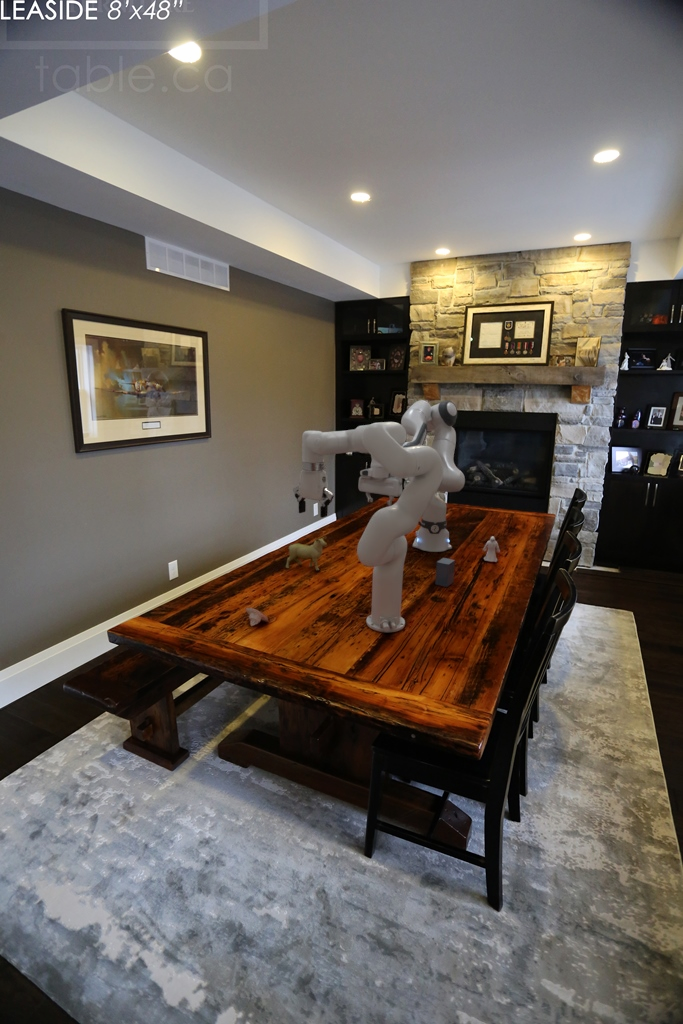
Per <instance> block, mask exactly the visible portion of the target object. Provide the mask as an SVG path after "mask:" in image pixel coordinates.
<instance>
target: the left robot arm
mask: <svg viewBox="0 0 683 1024" xmlns="http://www.w3.org/2000/svg"><path fill="white" fill-rule="evenodd" d="M407 435H408V434H407V433H406V430H405V428H404V427H403V426H402V425H401V423H399V422H395V421H384V422H383V421H380V422H373V423H371V424H365V425H364V424H363V425H358V426H357V427H356V428H354V429H348V430H334V431H321V430H305V431H303V432H302V435H301V466H302V467H301V470H300V473H299V480H298V486H296V487H293V488H292V492H293V494H294V498H295V499H296V501H297V503H298V513H299V514H303V513H305V512H306V511H307V509H306V507H307V503H306V502H307V501H306V500H311V501H312V500H313V501H319V503H320V505H321V506H320V511H319V512H320V514H319V516H320V518H326V517H328V513H329V512H328V509H329V505H330V504H331V503H332V501H333V499H334V497H335V494H334V493H332V492H331V491H330V490H329V480H328V475H327V471H326V469H327V465H326V464H325V456H331V455H337V454H346V453H356V452H358V453H361V454H367V453H369V455H370V456H371V455H372V456H373V457H374V458H375V459H376V460H377V461H378V462H379V463H380V464H381V465H382V466H383V467H384V468H385V469H386V470H387V471H388V472H389V473H390V474H391V475H393V476H395V477H397V478H402V479H409V477H413V476H414V477H413V479H412V480H411V481H410V482H408V483H407V484H406V485H405V487H404V489H402V494H401V496H398V498H397V500H396V502H394V503H393V504H392V505H391V506H386V507H382V508H380V509H378V510H377V511H376V512H374V514H373V515H372V516H371V517H370V519H369V522H368V523H367V525H366V527H365V529H364V530H363V533H362V535H361V537H360V538H359V541H358V543H357V547H356V554H357V558H358V560H359V562H360V563H361V564H362V565H363V566H364V567H368V568H373V569H372V585H371V586H372V587H371V607H370V609H371V613H370V615H368V616H367V617H366V621H365V622H366V623H365V624H366V625H367V627H368V628H369V629H372V630H373V631H376V632H379V633H396V632H398V631H402V630H403V629H404V628H405V626H406V620H405V618H403V617H402V615H401V614H402V599H403V598H402V597H403V580H404V567H405V562H406V557H407V553H408V541H407V537H406V535H409V534H410V533H412V532H413V531H414V530H415V529H416V528H417V526H418V525H419V521H420V522H421V519H422V515H423V514H424V512H425V510H426V508H427V506H428V505H429V503H430V501H431V499H432V498H433V496H434V495H435V494H436V493H437V492H438V491H437V490H438V488H439V486H440V483H441V481H442V477H443V463H442V460H441V457H440V455H439V454H438V452H437V451H436V450H435V449H433V448H432V446H429V445H423V446H412V447H404V448H403V447H402V445H403V444H404V443H405V442H407Z"/></svg>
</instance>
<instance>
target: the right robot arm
mask: <svg viewBox="0 0 683 1024" xmlns="http://www.w3.org/2000/svg"><path fill="white" fill-rule="evenodd" d="M457 418H458V408H457V406H456V404H455V403H454V402H453V401H451V400H442V401H440V402H438V403H436V404H434V405H432V406H431V404H430V403H429V402H428V401H426V400H423V399H420V400H417V401H415V402H414V403H413V404H411V405H410V406H409V407H408V409H407V410H406V411H405V412H404V414H403V415H402V417H401V421H400V424H401V425H402V426H403V427H404V428H405V430H406V434H407V435H409V436H412V437H413V438H412V440H411V441H405V443H404V444H403V445H402V447H403V448H404V447H412V446H424V443H425V441H426V439H427V435H428V434H429V433H431V432H433V431H434V432H433V433H434V435H433V439H432V443H431V447H432V448H433V449H435V450H436V451H437V452H438V454H439V455H440V457H441V460H442V463H443V477H442V481H441V483H440V486H439V488H438V490H437V491H436V492H441V493H456V492H461V490H462V489H463V488H464V486H465V483H466V478H465V475H464V473H463V472H462V471H461V470H460V469H459V468H458V467H457V466H456V464H455V461H454V457H455V455H454V454H455V449H456V442H457V433H456V430H455V428H454V427H453V426H454V425H455V424H456V422H457ZM370 458H371V463H370V467H368V468H365V469H361V470H360V471H359V474H360V476H359V477H358V487H357V488H358V490H359V492H361V493H362V492H363V493H365V496H366V498H367V503H371V504H372V503H373V501H374V498H373V497H371V494H378V495H383V496H388V499H389V500H387V501H386V506H387V507H389V506H392V505H393V504H392V503H393V500H394V499H395V497H397V498H399V497H400V496H401V494H402V492H403V478H397V477H395V476H393V475H391V474H390V473H389V472H388V471H387V470H386V469H385V468H384V467H383V466H382V465H381V464H380V463H379V462H378V461H377V460H376V459H375V458H374V457H373V456H372V455H371V454H370ZM413 477H414V476H413ZM413 477H408V481H409V482H410V481H411V480H412V479H413ZM409 482H408V483H409ZM447 509H448V507H447V503H446V501H444V500H443V499H442V498H440V497H438V496H437V494H436V493H435V495H434V496H433V498H432V499H431V501H430V503H429V505H428V506H427V508H426V510H425V512H424V514H423V515H422V517H421V519H420V521H419V522H418V524H419V525H420V527H419V529H418V530H416V531H415V536H416V537H415V538H414V541H413V543H412V545H411V547H412V548H415V549H419V550H421V551H426V552H430V553H433V552H434V553H438V552H439V553H440V552H446V551H447V550H451V549H453V546H452V545H451V544H450V532H449V531H448V529H447V524H448V522H447Z"/></svg>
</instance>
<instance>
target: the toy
mask: <svg viewBox="0 0 683 1024" xmlns="http://www.w3.org/2000/svg"><path fill="white" fill-rule="evenodd" d="M325 540H327V536H323V537H321V538H315V540H314V542H313V544H311V545H306V544H302V543H292V544H290V545H289V546H288V553H289V557H288V556H287V558H286V564H285V569H286V570H290V562H292V561H295V562H296V563H297V564H298V566H300V567H302V566H303V564H302V563H303V562H302V561H300V560H310V563H309V567H310V568H314V567H315V571H316V572H320V571H321V570H320V568H319V567H318V560H319V559H320V558H321V557H322V555H323V553H322V552H323V547H327V546H328V544H327V542H326V541H325ZM299 559H300V560H299Z"/></svg>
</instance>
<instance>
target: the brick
mask: <svg viewBox="0 0 683 1024" xmlns="http://www.w3.org/2000/svg"><path fill="white" fill-rule="evenodd" d="M455 565H456V559H451V558H447V557H442V558H441V559H439V560H437V561H436V567H435V568H436V569H435V583H434V584H435V585H437V586H441V587H444V588H448V587H450V586H451V585H452V584H453V583H454V579H455Z"/></svg>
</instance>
